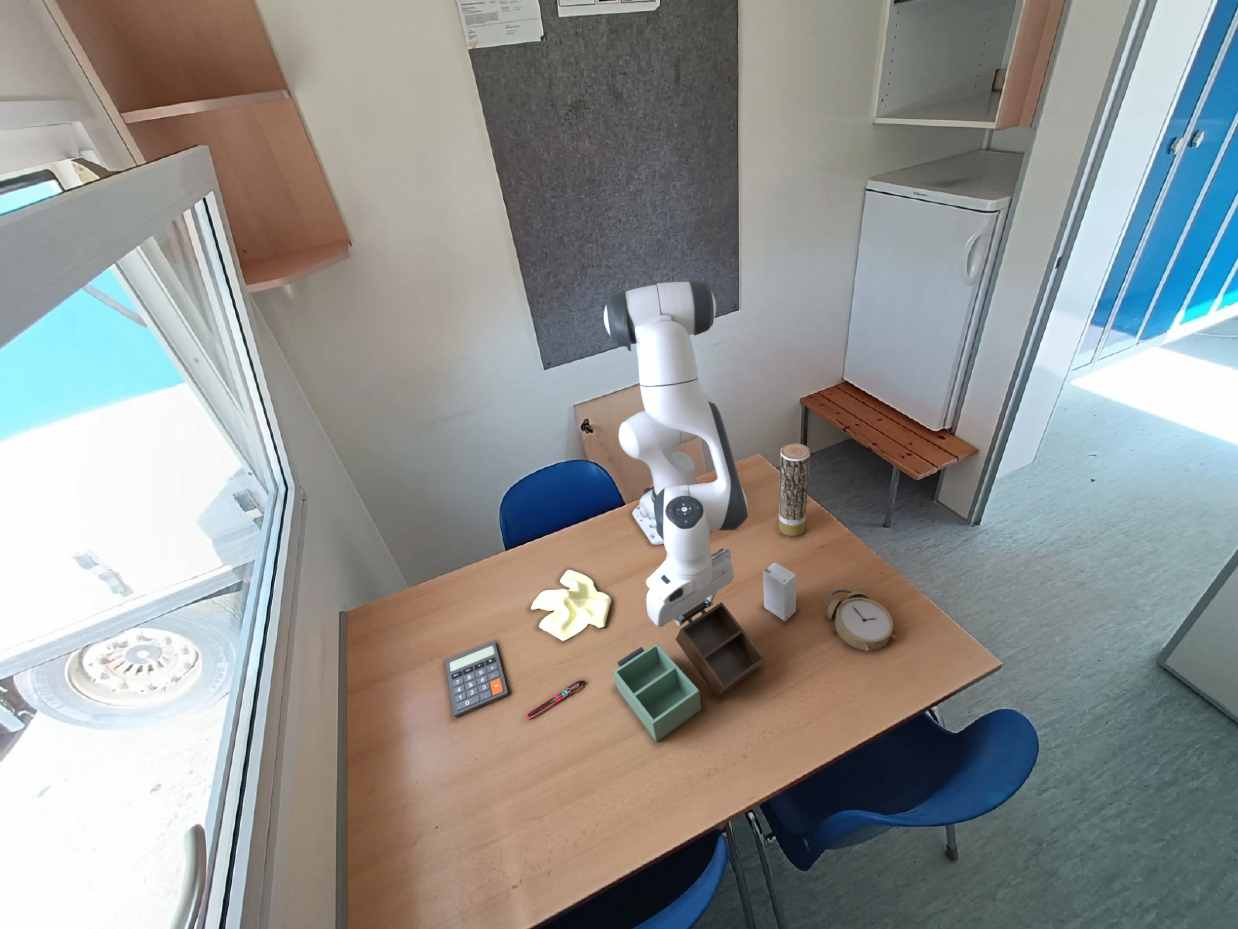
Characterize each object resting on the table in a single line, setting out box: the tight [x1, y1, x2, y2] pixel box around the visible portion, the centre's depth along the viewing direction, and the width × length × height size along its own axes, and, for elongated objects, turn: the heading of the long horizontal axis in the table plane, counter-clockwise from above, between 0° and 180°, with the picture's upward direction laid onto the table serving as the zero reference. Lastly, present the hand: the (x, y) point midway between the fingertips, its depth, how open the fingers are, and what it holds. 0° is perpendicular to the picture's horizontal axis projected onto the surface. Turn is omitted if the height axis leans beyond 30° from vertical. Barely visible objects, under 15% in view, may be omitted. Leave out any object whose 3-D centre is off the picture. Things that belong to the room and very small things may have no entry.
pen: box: [525, 679, 586, 719], centre depth 118 cm, size 2×14×1 cm, turn 122°
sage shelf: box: [612, 643, 702, 743], centre depth 114 cm, size 17×11×6 cm, turn 33°
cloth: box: [530, 569, 612, 642], centre depth 137 cm, size 22×19×6 cm
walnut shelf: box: [675, 601, 767, 699], centre depth 117 cm, size 17×11×6 cm, turn 33°
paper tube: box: [777, 442, 811, 537], centre depth 142 cm, size 7×7×25 cm
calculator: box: [445, 640, 509, 718], centre depth 125 cm, size 12×1×15 cm
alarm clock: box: [825, 588, 897, 652], centre depth 122 cm, size 11×5×15 cm
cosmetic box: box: [762, 561, 797, 622], centre depth 125 cm, size 6×4×12 cm
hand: (693, 613), depth 120 cm, fingers closed on walnut shelf, 6 cm apart
